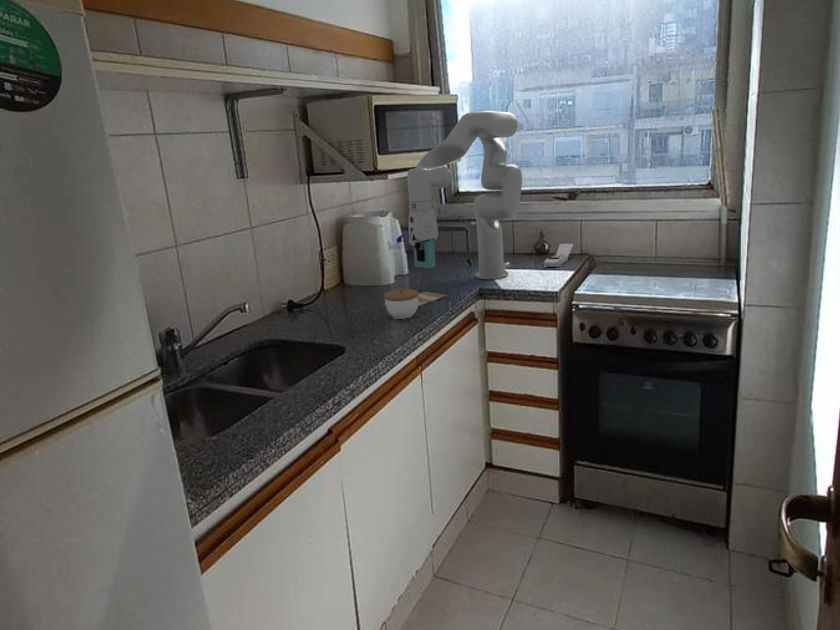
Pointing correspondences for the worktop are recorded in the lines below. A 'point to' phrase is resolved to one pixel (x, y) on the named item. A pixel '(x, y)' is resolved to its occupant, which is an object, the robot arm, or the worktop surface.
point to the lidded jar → (401, 303)
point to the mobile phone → (559, 256)
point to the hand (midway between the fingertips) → (424, 259)
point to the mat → (428, 297)
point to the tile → (426, 255)
